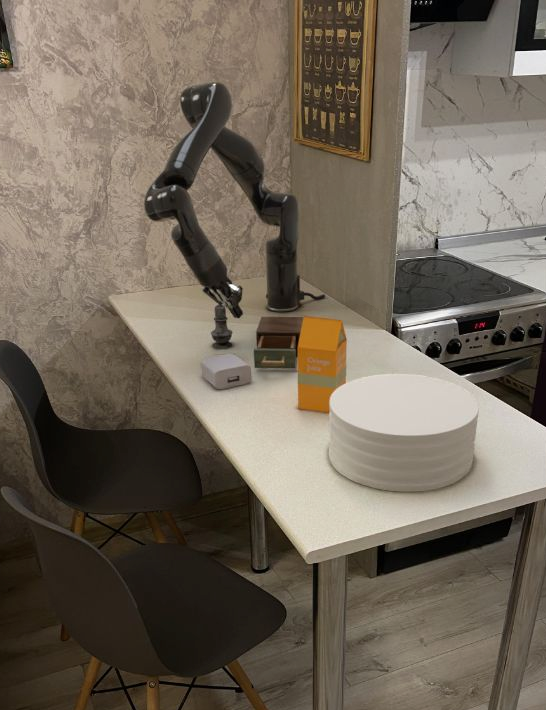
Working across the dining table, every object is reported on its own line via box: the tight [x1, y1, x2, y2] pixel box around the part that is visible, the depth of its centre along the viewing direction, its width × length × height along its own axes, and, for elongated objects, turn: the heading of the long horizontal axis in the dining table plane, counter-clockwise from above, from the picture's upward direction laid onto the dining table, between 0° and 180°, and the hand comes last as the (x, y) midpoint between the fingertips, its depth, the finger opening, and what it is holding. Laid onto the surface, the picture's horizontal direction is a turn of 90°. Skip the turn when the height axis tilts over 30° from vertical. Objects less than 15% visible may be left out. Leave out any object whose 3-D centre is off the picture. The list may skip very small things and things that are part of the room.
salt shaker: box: [210, 303, 234, 350], centre depth 200 cm, size 6×6×12 cm
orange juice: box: [297, 315, 348, 414], centre depth 164 cm, size 8×9×20 cm
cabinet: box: [255, 316, 304, 357], centre depth 199 cm, size 12×11×6 cm
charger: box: [200, 353, 252, 390], centre depth 183 cm, size 5×9×15 cm
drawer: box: [253, 335, 297, 370], centre depth 188 cm, size 16×10×5 cm, turn 176°
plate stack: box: [328, 373, 480, 493], centre depth 145 cm, size 28×28×12 cm
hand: (239, 315), depth 190 cm, fingers closed
